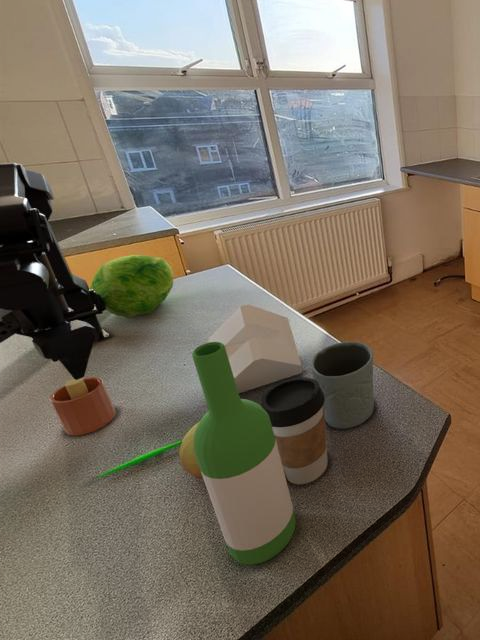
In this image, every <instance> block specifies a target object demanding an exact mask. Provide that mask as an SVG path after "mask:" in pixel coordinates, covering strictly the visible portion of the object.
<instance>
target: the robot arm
mask: <svg viewBox="0 0 480 640" xmlns="http://www.w3.org/2000/svg"><path fill="white" fill-rule="evenodd" d="M53 200H55V198H54V194H53V190H52V188H51V186H50V184H49V181H48V180H47V178H46V177H45V176H44V174H43V173H41V172H37V171H34V170H30V169H27V168H25V167H24V166H23V165H22V163H17V162H4V163H0V344H1V343H3V342H5V341H6V340H8V339H9V338H11V337H13V336H14V335H20V336H23V337H28V338H31V339H32V340H31V342H32V344H33V347H34V348H35V350H36V351H37V353H38V354H39V355H40V356H41V357H43V359H46V360H51V361H52V362H54V363H57V362H59V363H60V364H61V365H62V366H63V368H64V369H65V370H66V371H67V373H68V374H69V375H70V376H71V377H72V379H75V380H78V379H81V378H85V375H86V372H87V368H88V364H89V360H90V356H91V354H92V351H93V347H94V344H96V343H97V342H99V341H102V340H105V339H107V338H109V337H110V338H111V334H110V333H109V332H108V331H105V330H104V329H103V328H102V326H101V324H100V322H99V318H98V316H97V315H102V314H103V312H104V311H107V310H106V307H105V304H104V302H103V300H102V298H101V296H100V294H98V293H96V291H94V289H90V286H89V285H88V282H87V281H86V279H84V278H81V277H79V276H77V275H75V274H73V273H72V270H71V269H70V266H69V263H68V262H67V259H66V258H65V256H64V253H63V251H62V249H61V247H60V244H59V242H58V240H57V238H56V236H55V233H54V230H53V229H52V227H51V225H50V222H49V220H50V219H51V216H52V214H53V207H52V201H53Z"/></svg>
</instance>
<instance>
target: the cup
mask: <svg viewBox="0 0 480 640" xmlns="http://www.w3.org/2000/svg"><path fill="white" fill-rule="evenodd" d="M83 381H84V383H85V385H86V387H87V390H88V392H89V393H88V394H86V395H83V396H81V397H79V398H76V399H71V397H70V395H69V393H68V391H67V389H66V387H65V384H64V385H62V386H60V387H59V388H57V389H55V390H54V392H53V393H51V394H50V397H49V403H50V404H51V406H52V408H53V410H54V412H55V414H56V416H57V418H58V420H59V423H60V424H61V426H62V428H63V430H64V431H65V433H66V434H67V435H68V436H82V435H86V434H90V433H92V432H95V431H96V430H99V429H101V428H103V427H105V426H106V425H108V424H109V423H111V422H112V420H113V419H115V416H116V408H115V405H114V403H113V401H112V399H111V397H110V394H109V392H108V390H107V387H106V385H105V383H104V382H105V381H104V380H103V379H102V378H100V377H95V376H94V377H93V376H91V377H83Z"/></svg>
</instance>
